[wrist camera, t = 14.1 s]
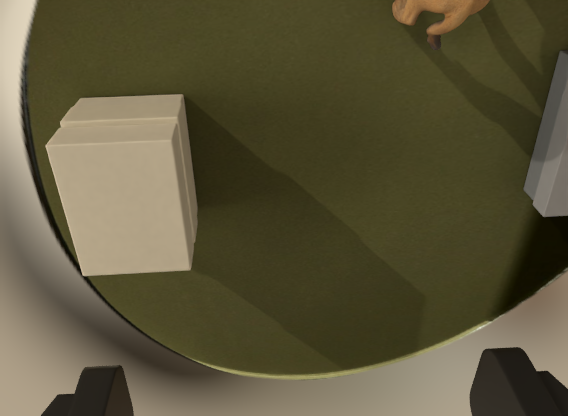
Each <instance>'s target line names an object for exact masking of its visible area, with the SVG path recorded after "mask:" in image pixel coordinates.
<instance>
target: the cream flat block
mask: <svg viewBox="0 0 568 416" xmlns="http://www.w3.org/2000/svg"><path fill="white" fill-rule="evenodd" d="M46 149H47V152H48V156H49V159H50V163H51V166H52V170H53V173H54V177H55V180H56V184H57V187H58V191H59V194H60V198H61V201H62V205H63V208H64V212H65V215H66V218H67V222H68V225H69V229H70V232H71V236H72V239H73V243H74V246H75V250H76V253H77V257H78V260H79V264H80V267H81V271H82V274H83V276H93V275H112V274H130V273H148V272H166V271H184V270H191V265H192V258H193V251H194V244H193V237H192V229H191V222H190V214H189V207H188V200H187V192H186V185H185V177H184V170H183V163H182V155H181V148H180V141H179V133H178V126H177V123H165V124H141V125H117V126H93V127H69V128H59V129H58V130H57V132H56V133H55V134H54V136H53V137H52V138H51V139H50V141H49V142H48V143H47V145H46Z"/></svg>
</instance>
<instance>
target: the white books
mask: <svg viewBox="0 0 568 416" xmlns="http://www.w3.org/2000/svg"><path fill="white" fill-rule="evenodd" d="M165 123H177V126H178V133H179V141H180V148H181V155H182V163H183V170H184V177H185V185H186V192H187V200H188V207H189V214H190V222H191V229H192V237H193V243H195V239H196V231H197V224H198V221H197V209H198V208H197V200H196V192H195V183H194V175H193V167H192V159H191V151H190V143H189V135H188V127H187V119H186V111H185V103H184V96H183V94H176V95H150V96H124V97H99V98H80V99H79V101H78V102H77V103H76V104H75V106H74V107H71V109H70V110H69V111H68V113H67V114H66V115H65V116H64V118H63V119H62V120H61V122H60V124H61V128H69V127H93V126H117V125H141V124H165Z"/></svg>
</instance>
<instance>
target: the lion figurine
mask: <svg viewBox="0 0 568 416" xmlns="http://www.w3.org/2000/svg"><path fill="white" fill-rule="evenodd" d="M489 1H490V0H396V1H395V2H394V3H393V6H392V11H393V15H394V17H395V18H396V19H397V20H398V21H399V22H400V23H403V24H406V25H414V24H415V23H416V20H417V18H418V16H419V14H420V13H421V12H423V11H425V10H427V11H431V12H435V13H444V14H445V19H444V20H441V21H438V22H436V23H433V24H431V25H430V26H429V27H428V28H427V30H426V31H427V34H428V39H427V41H428V42H429V43H430V46H431V48H432V49H434V50H438V49H440V48H441V42H440V37H441V36H440V34H445V33H447V32H450V31H451V30H453V29H455V28H456V27H458V26H459V25H460V24H461V23H463V22H464V20H465V19H466V18H467V17H468V16H469V15H472V14H475V13H476V12H478V11H480V10H481V9H482V8H484V7H485V6H486V5H487V4H488V2H489Z"/></svg>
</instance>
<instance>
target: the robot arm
mask: <svg viewBox="0 0 568 416" xmlns="http://www.w3.org/2000/svg"><path fill="white" fill-rule="evenodd" d="M470 407H471V412H472V416H568V389H567V388H566V387H565V386H564V385H563V384H562V383H560V382H559V381H558V380H557V379H556V378H555V377H554V376H553V375H552V374H550V373H549V372H548V371H536V369H535V368H534V366H533V364H532V362H531V361H530V360H529V357H528V356H527V354H526V353H525V351H524V350H523V349H521V348H518V347H516V348H515V347H514V348H495V349H485V350H484V351H483V353H482V355H481V358H480V361H479V365H478V368H477V371H476V375H475V378H474V381H473V384H472V388H471V391H470ZM41 416H134V414H133V407H132V402H131V398H130V394H129V391H128V386H127V383H126V378H125V375H124V371H123V368H122V366H120V365H117V366H96V367H85V368H84V370H83V371H82V373H81V375H80V379H79V382H78V384H77V387H76V391H75V394H60V395H57V396H56V398H55V399H54V400H53V401H52V402H51V404H50V405H49V406H48V407H47V409H46V410H45V411H44V412H43V414H42V415H41Z"/></svg>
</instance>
